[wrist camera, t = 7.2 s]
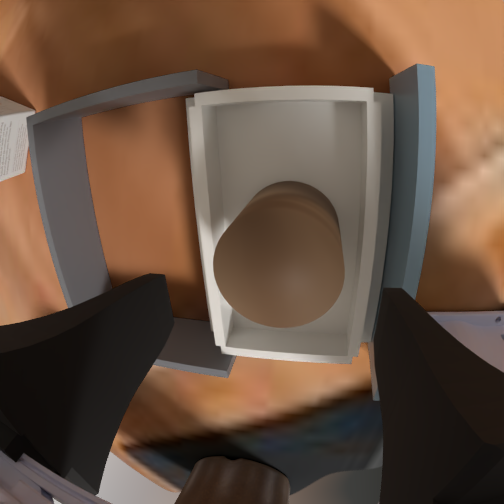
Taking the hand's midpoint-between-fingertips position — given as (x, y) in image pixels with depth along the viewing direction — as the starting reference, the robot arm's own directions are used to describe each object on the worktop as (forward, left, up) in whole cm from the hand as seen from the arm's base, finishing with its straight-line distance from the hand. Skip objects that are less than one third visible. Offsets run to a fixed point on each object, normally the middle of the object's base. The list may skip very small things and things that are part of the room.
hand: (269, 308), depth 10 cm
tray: (0, 0, -8) cm, 8 cm away
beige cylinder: (0, 0, -7) cm, 7 cm away
